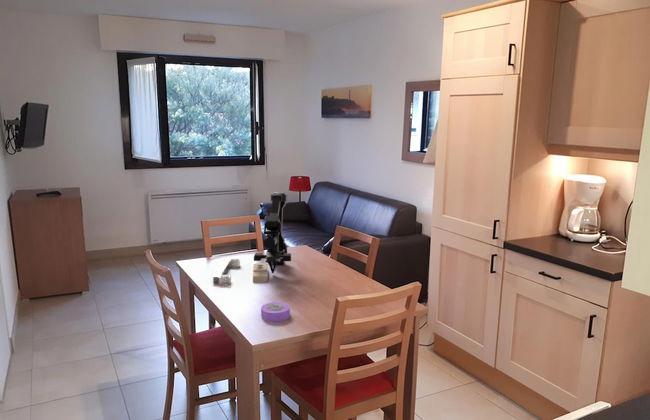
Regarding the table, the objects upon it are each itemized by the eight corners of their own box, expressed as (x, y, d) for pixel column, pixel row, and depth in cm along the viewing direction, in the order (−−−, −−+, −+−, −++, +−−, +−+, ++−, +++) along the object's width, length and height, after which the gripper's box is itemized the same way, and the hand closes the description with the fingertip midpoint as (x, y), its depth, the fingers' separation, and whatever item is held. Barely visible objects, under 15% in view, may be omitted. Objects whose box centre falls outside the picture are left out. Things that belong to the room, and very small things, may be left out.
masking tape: (255, 317, 194) (255, 308, 194) (273, 308, 204) (273, 299, 203) (277, 324, 188) (277, 315, 187) (295, 314, 198) (295, 306, 197)
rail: (240, 265, 261) (239, 258, 260) (229, 284, 231) (229, 277, 230) (225, 265, 261) (225, 258, 260) (212, 284, 230) (212, 277, 230)
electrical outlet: (252, 274, 235) (253, 263, 252) (252, 282, 236) (253, 271, 253) (267, 274, 236) (267, 263, 253) (267, 282, 236) (267, 270, 254)
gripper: (252, 247, 235) (252, 278, 238) (290, 248, 235) (290, 278, 238) (255, 241, 246) (255, 271, 249) (291, 242, 246) (291, 271, 249)
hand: (272, 273), depth 246 cm, fingers closed
